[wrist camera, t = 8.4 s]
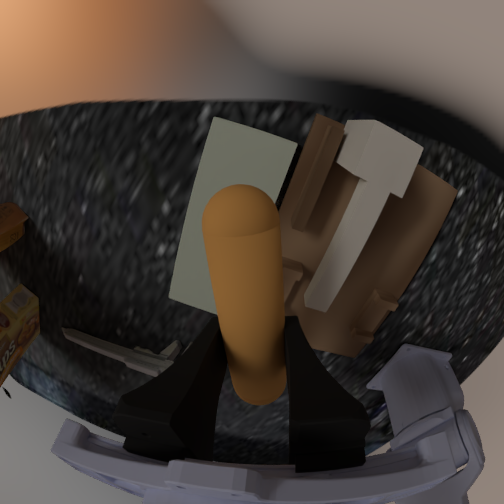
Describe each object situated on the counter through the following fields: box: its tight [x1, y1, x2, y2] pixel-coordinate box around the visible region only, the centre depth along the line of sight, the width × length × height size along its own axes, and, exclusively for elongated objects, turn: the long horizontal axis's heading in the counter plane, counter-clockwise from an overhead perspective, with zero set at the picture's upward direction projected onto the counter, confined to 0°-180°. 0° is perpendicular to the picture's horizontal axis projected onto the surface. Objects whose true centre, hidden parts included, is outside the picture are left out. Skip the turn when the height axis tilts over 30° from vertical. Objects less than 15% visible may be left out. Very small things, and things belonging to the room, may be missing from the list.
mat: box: [169, 117, 298, 315], centre depth 21 cm, size 6×16×1 cm, turn 161°
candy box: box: [0, 284, 40, 387], centre depth 22 cm, size 9×4×15 cm, turn 149°
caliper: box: [61, 327, 193, 377], centre depth 26 cm, size 20×1×6 cm, turn 96°
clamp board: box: [278, 114, 458, 358], centre depth 20 cm, size 13×19×3 cm
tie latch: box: [304, 120, 423, 312], centre depth 16 cm, size 3×11×6 cm, turn 162°
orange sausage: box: [202, 184, 286, 405], centre depth 12 cm, size 12×3×3 cm, turn 6°
